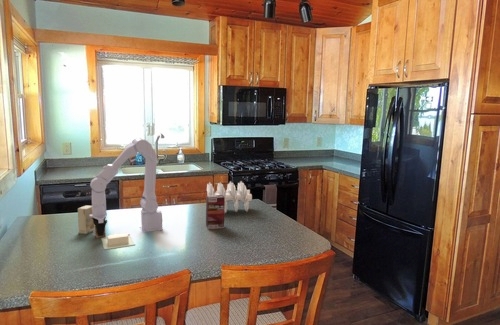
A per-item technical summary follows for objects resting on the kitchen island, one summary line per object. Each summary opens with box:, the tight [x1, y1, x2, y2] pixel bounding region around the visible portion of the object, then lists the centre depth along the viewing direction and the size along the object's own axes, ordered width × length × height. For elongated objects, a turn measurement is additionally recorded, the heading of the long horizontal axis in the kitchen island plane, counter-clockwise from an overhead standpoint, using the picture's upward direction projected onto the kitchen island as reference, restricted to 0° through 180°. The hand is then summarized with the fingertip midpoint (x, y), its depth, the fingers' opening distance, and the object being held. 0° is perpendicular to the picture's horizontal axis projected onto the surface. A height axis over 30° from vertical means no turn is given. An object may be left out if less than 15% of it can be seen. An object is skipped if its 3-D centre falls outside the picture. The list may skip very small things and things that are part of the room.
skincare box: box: [77, 204, 95, 235], centre depth 165 cm, size 6×4×12 cm
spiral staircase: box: [206, 180, 253, 214], centre depth 202 cm, size 18×18×25 cm
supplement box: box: [205, 195, 225, 230], centre depth 175 cm, size 9×5×16 cm, turn 107°
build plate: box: [100, 233, 136, 251], centre depth 153 cm, size 12×14×1 cm
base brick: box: [106, 232, 129, 246], centre depth 152 cm, size 8×4×3 cm, turn 118°
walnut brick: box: [94, 226, 107, 239], centre depth 160 cm, size 4×4×5 cm
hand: (100, 234), depth 160 cm, fingers closed on walnut brick, 4 cm apart
